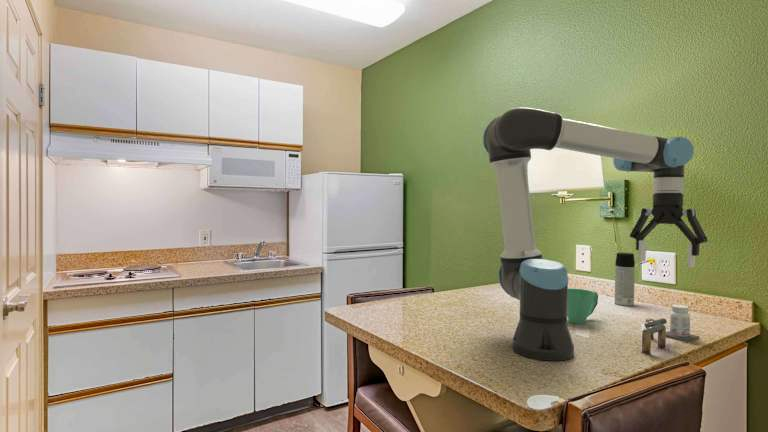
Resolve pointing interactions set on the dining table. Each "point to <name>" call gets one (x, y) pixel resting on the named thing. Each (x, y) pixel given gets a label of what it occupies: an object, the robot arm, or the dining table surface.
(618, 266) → the spray can
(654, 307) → the dining table surface
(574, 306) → the mug
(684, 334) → the pill bottle
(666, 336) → the pad
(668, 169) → the robot arm
